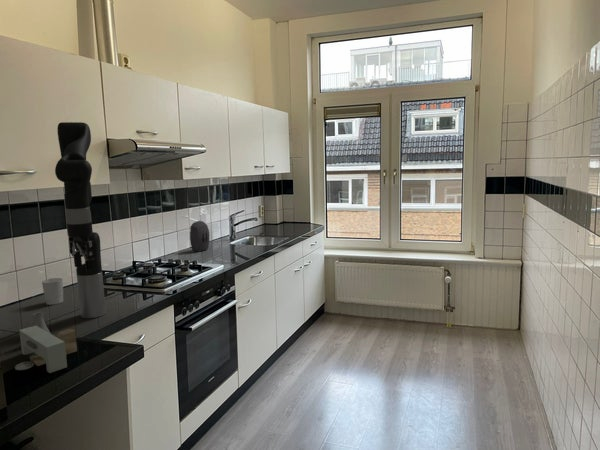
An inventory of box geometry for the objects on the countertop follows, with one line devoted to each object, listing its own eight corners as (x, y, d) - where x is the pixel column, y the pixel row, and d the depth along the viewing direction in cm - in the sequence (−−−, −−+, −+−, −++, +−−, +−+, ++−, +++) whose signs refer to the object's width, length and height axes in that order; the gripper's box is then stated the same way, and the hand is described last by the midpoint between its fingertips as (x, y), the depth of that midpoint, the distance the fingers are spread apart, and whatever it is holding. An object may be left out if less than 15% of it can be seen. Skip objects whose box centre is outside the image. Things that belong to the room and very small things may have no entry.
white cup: (54, 306, 198) (51, 283, 196) (40, 304, 200) (37, 282, 199) (68, 300, 205) (66, 278, 203) (55, 299, 207) (52, 277, 206)
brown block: (30, 360, 144) (27, 339, 143) (71, 347, 154) (69, 327, 153) (37, 366, 140) (35, 344, 139) (79, 352, 150) (77, 331, 149)
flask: (56, 336, 163) (54, 309, 162) (46, 345, 156) (43, 316, 155) (36, 337, 163) (32, 310, 162) (24, 346, 156) (21, 317, 154)
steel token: (13, 367, 140) (12, 365, 140) (31, 362, 144) (30, 359, 144) (18, 372, 137) (17, 370, 137) (36, 367, 141) (36, 364, 140)
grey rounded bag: (204, 248, 314) (202, 218, 311) (213, 249, 310) (212, 219, 307) (188, 252, 301) (186, 222, 298) (198, 253, 297) (196, 222, 294)
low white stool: (19, 354, 149) (16, 330, 148) (38, 348, 153) (36, 325, 152) (46, 374, 135) (43, 348, 134) (67, 367, 139) (64, 341, 138)
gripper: (100, 222, 150) (104, 270, 153) (81, 217, 160) (85, 263, 163) (76, 225, 145) (82, 275, 148) (58, 220, 154) (63, 267, 157)
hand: (84, 268), depth 155 cm, fingers open, 8 cm apart
